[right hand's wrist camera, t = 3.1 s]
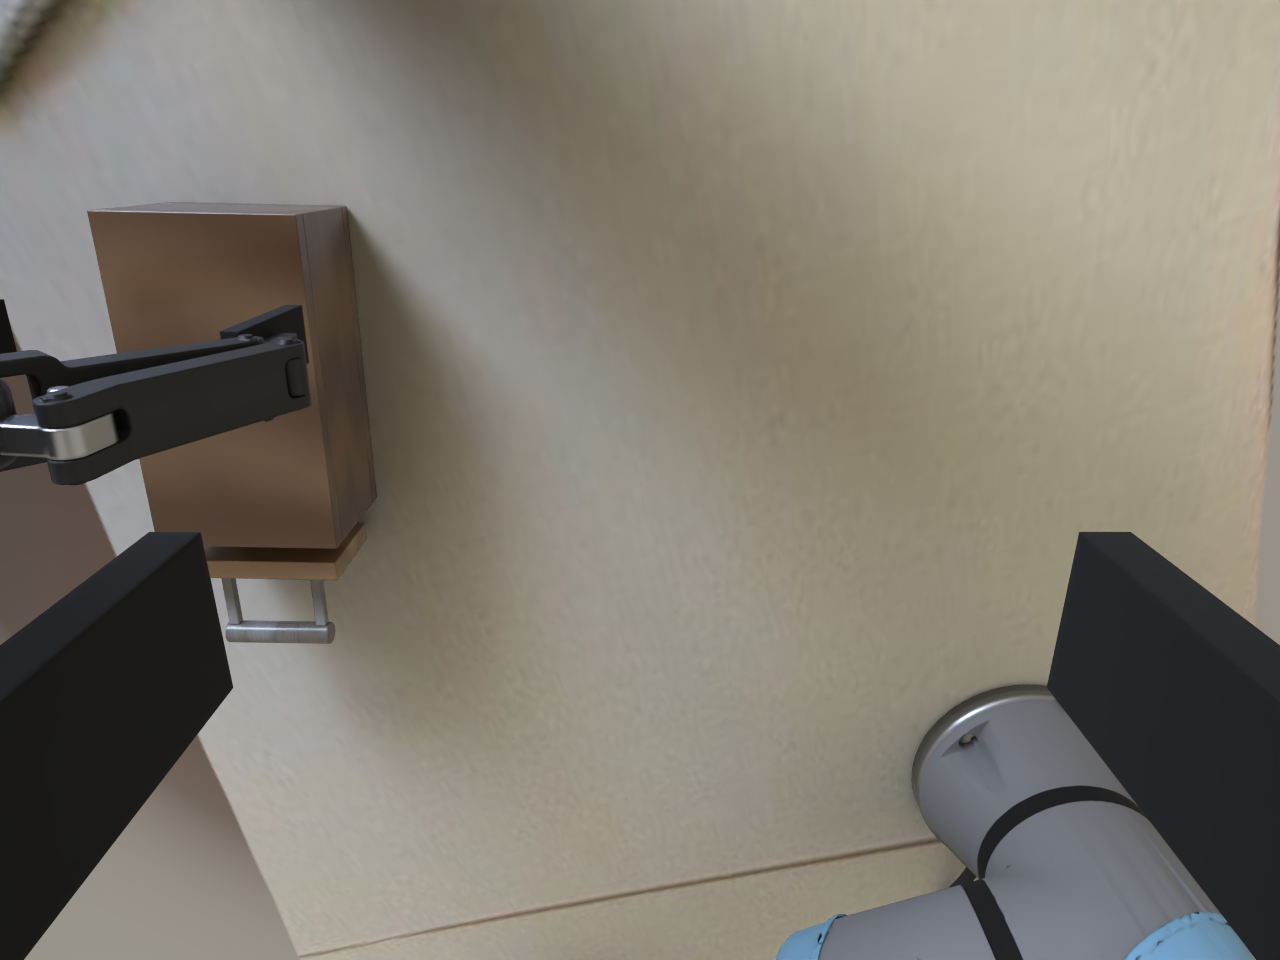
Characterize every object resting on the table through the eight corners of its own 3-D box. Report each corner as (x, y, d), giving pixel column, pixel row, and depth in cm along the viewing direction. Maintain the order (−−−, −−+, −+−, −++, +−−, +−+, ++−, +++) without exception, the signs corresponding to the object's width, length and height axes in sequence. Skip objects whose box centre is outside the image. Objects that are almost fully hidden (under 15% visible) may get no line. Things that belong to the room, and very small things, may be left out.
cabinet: (376, 497, 56) (337, 549, 49) (220, 494, 56) (157, 545, 49) (347, 205, 49) (295, 214, 42) (169, 202, 49) (86, 210, 42)
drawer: (374, 607, 58) (346, 655, 52) (241, 605, 58) (199, 652, 52) (338, 274, 50) (300, 288, 44) (182, 271, 50) (125, 285, 44)
